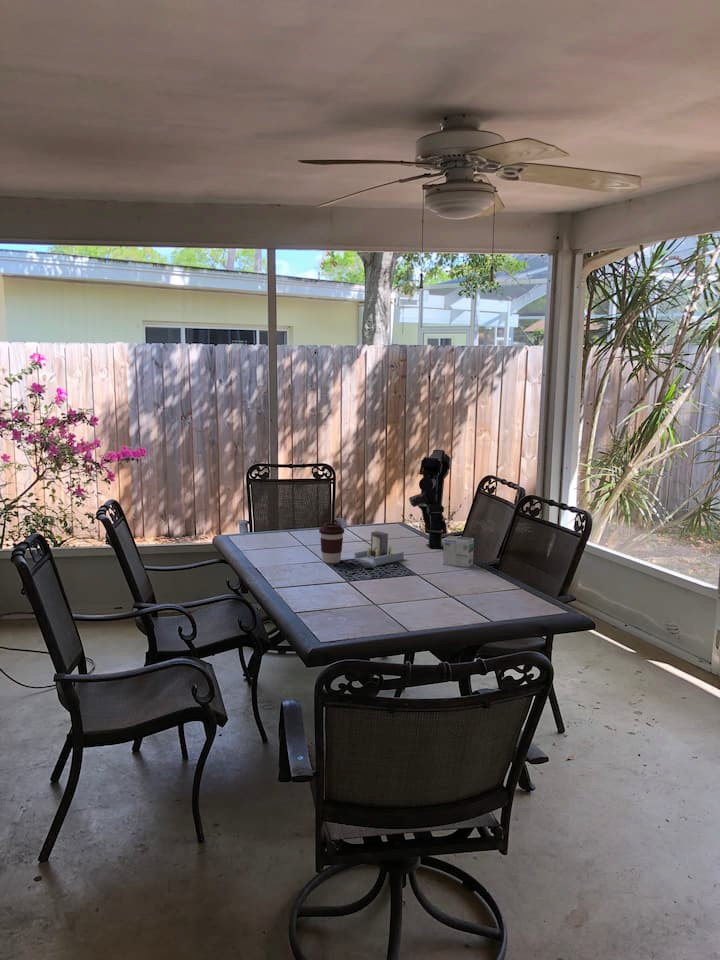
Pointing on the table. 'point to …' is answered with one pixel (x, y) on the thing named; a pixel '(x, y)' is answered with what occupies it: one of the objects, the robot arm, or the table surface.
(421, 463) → the robot arm
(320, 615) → the table surface
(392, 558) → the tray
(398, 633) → the table surface
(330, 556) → the coffee cup
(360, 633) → the table surface
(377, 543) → the block
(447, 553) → the light bulb box
